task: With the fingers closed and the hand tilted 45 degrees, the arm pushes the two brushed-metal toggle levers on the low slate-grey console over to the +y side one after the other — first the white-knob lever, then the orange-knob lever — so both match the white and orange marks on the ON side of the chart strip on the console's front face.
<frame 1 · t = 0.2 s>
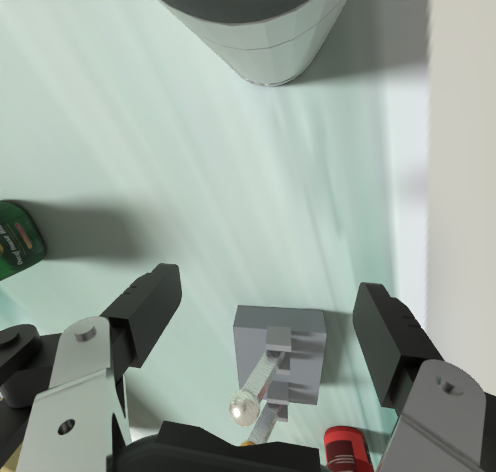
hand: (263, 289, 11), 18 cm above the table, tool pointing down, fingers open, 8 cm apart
canned food: (343, 434, 47), on the table
lever white: (261, 377, 28), point 9 cm above the table, hinge at -25.0°
lever orange: (263, 427, 32), point 9 cm above the table, hinge at -25.0°
console: (278, 345, 38), on the table
coffee jar: (20, 230, 34), on the table
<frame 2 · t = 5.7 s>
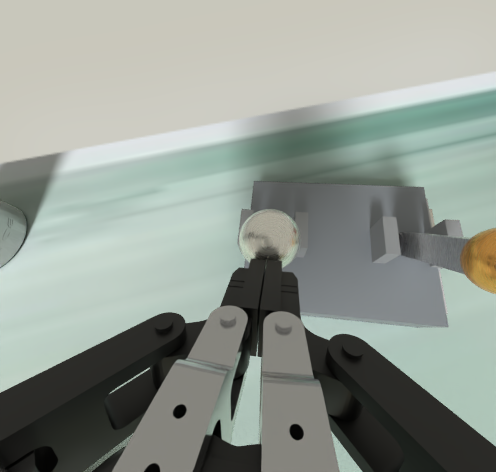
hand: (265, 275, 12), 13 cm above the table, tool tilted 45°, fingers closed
lever white: (271, 237, 16), point 9 cm above the table, hinge at -23.0°, touching gripper
lever orange: (450, 251, 15), point 9 cm above the table, hinge at -25.0°
console: (326, 256, 24), on the table
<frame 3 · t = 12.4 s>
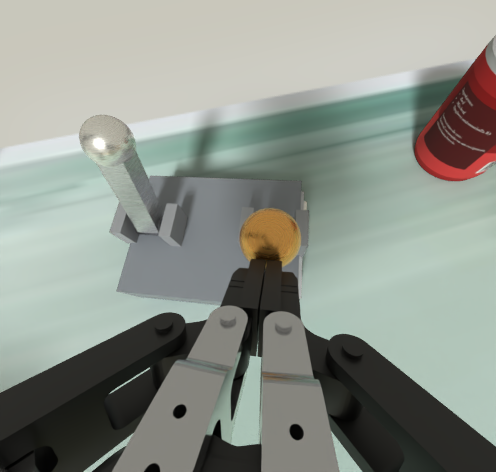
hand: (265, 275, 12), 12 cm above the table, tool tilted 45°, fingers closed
canned food: (447, 155, 27), on the table
lever white: (132, 186, 18), point 9 cm above the table, hinge at 19.7°
lever orange: (271, 235, 16), point 9 cm above the table, hinge at -23.8°, touching gripper
console: (222, 247, 26), on the table
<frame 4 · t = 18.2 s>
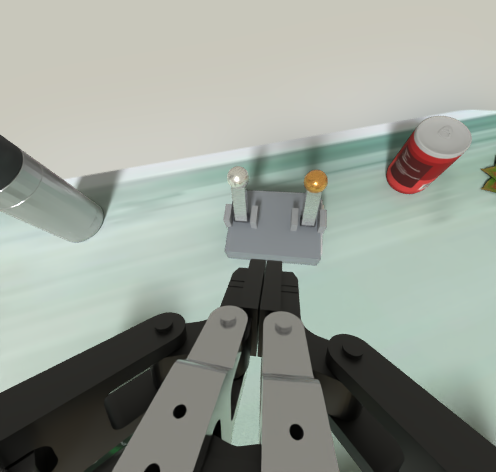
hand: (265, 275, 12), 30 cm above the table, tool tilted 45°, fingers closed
canned food: (405, 178, 46), on the table
lever white: (240, 197, 37), point 9 cm above the table, hinge at 19.7°
lever orange: (311, 201, 36), point 9 cm above the table, hinge at 18.8°
console: (274, 230, 45), on the table
coffee jar: (118, 458, 34), on the table
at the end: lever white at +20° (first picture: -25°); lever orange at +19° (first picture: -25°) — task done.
